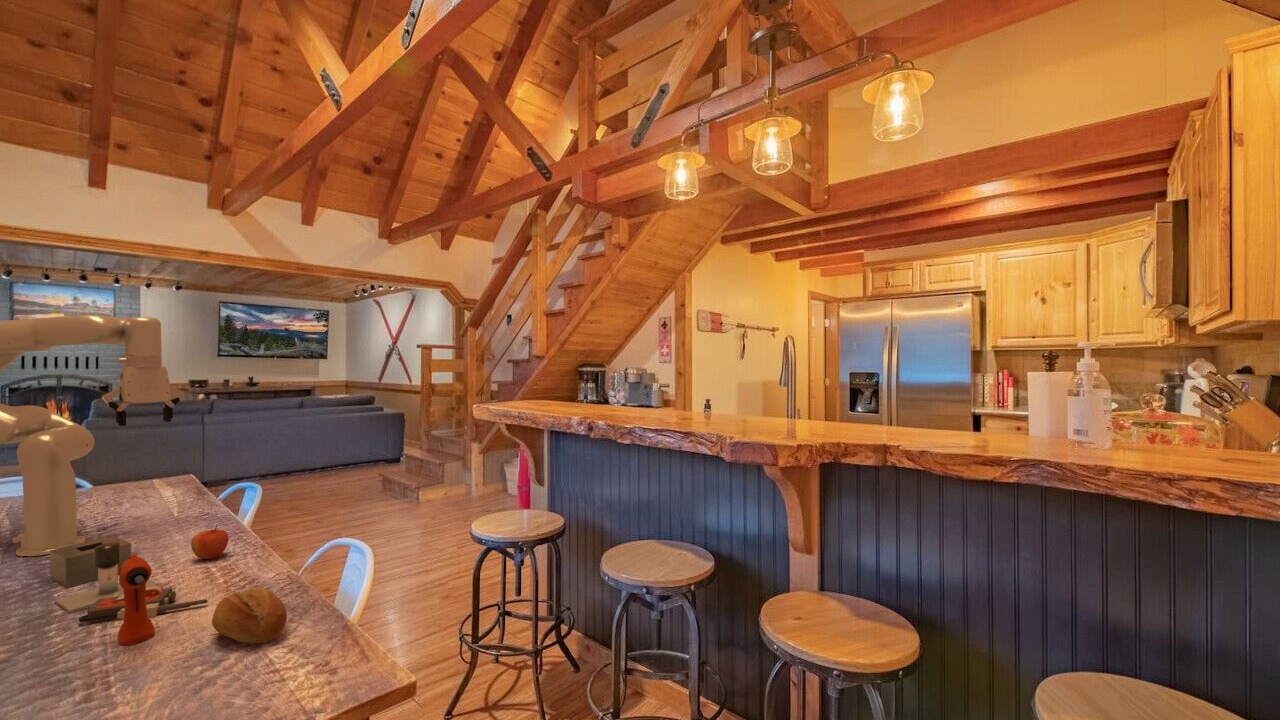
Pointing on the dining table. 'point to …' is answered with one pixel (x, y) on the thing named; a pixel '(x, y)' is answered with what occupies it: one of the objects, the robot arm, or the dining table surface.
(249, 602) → the bread roll
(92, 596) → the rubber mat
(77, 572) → the block
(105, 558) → the brown beige cylinder
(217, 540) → the apple
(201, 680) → the dining table surface
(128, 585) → the toy drill
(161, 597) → the walkie-talkie
